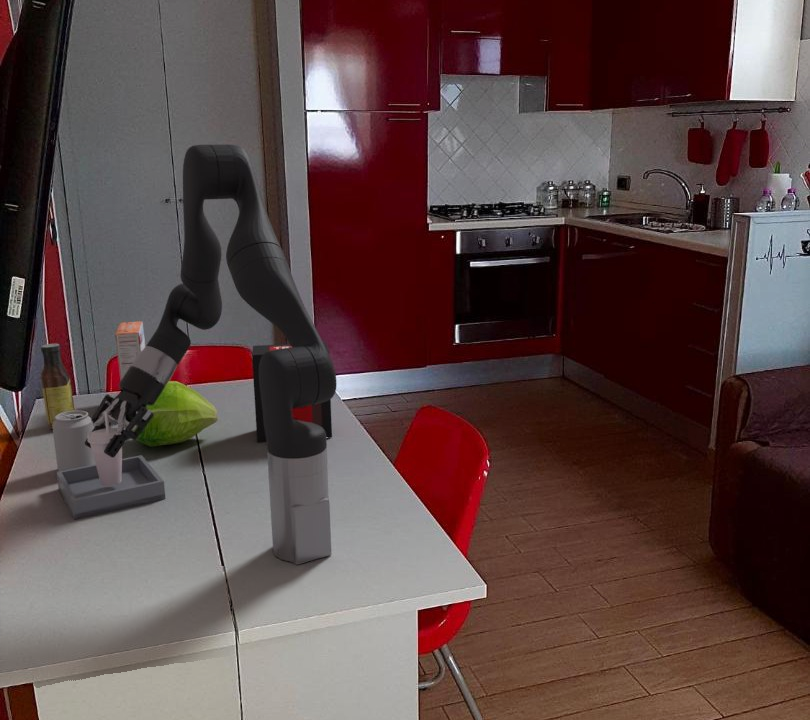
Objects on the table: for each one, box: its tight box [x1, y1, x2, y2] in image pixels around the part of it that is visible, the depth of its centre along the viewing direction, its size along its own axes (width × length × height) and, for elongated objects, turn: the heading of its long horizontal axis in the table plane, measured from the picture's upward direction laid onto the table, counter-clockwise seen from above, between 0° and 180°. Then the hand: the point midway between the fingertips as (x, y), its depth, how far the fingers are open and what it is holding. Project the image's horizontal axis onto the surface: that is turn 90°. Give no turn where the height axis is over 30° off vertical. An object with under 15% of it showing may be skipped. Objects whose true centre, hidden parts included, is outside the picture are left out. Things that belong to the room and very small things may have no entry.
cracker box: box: [114, 320, 146, 381], centre depth 203 cm, size 14×6×21 cm, turn 14°
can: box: [52, 410, 95, 472], centre depth 163 cm, size 8×8×12 cm
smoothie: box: [87, 411, 123, 486], centre depth 150 cm, size 6×6×14 cm
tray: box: [56, 454, 166, 520], centre depth 152 cm, size 16×16×4 cm
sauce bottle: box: [40, 343, 76, 430], centre depth 188 cm, size 7×6×20 cm
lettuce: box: [133, 380, 219, 448], centre depth 178 cm, size 15×20×14 cm
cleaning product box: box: [251, 341, 333, 444], centre depth 182 cm, size 16×9×20 cm, turn 99°
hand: (98, 450), depth 149 cm, fingers closed on smoothie, 6 cm apart
